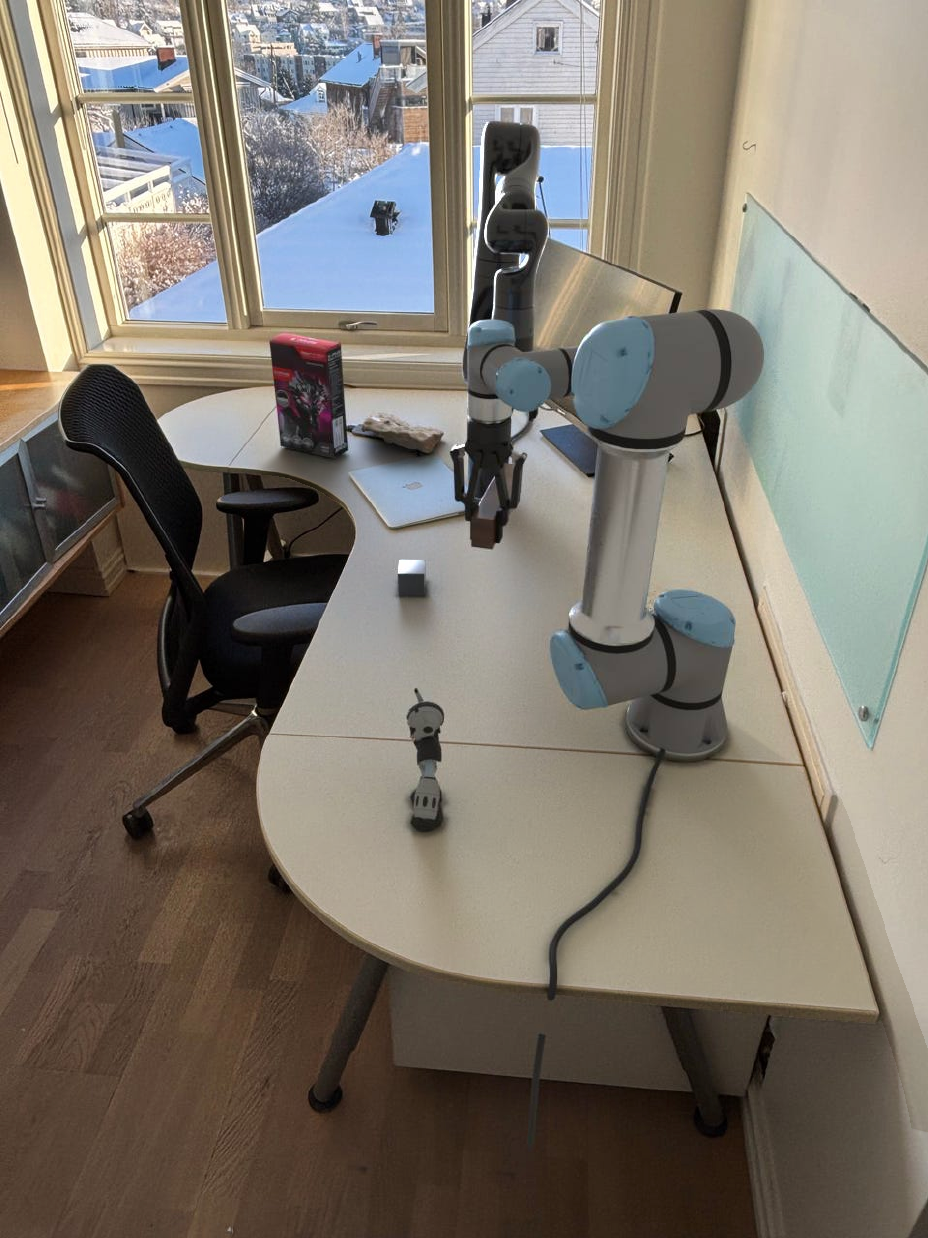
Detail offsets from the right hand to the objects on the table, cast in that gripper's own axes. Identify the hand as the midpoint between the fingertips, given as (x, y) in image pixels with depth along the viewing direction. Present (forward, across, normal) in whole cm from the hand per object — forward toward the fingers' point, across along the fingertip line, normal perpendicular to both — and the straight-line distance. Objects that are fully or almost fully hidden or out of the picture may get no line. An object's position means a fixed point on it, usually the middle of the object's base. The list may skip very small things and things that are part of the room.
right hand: (486, 537), depth 168 cm
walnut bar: (0, 0, -9) cm, 9 cm away
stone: (+12, +39, -65) cm, 76 cm away
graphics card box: (+12, +58, -55) cm, 81 cm away
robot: (+13, -6, +56) cm, 58 cm away
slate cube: (+13, +14, +1) cm, 19 cm away
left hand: (-17, 0, -17) cm, 24 cm away
